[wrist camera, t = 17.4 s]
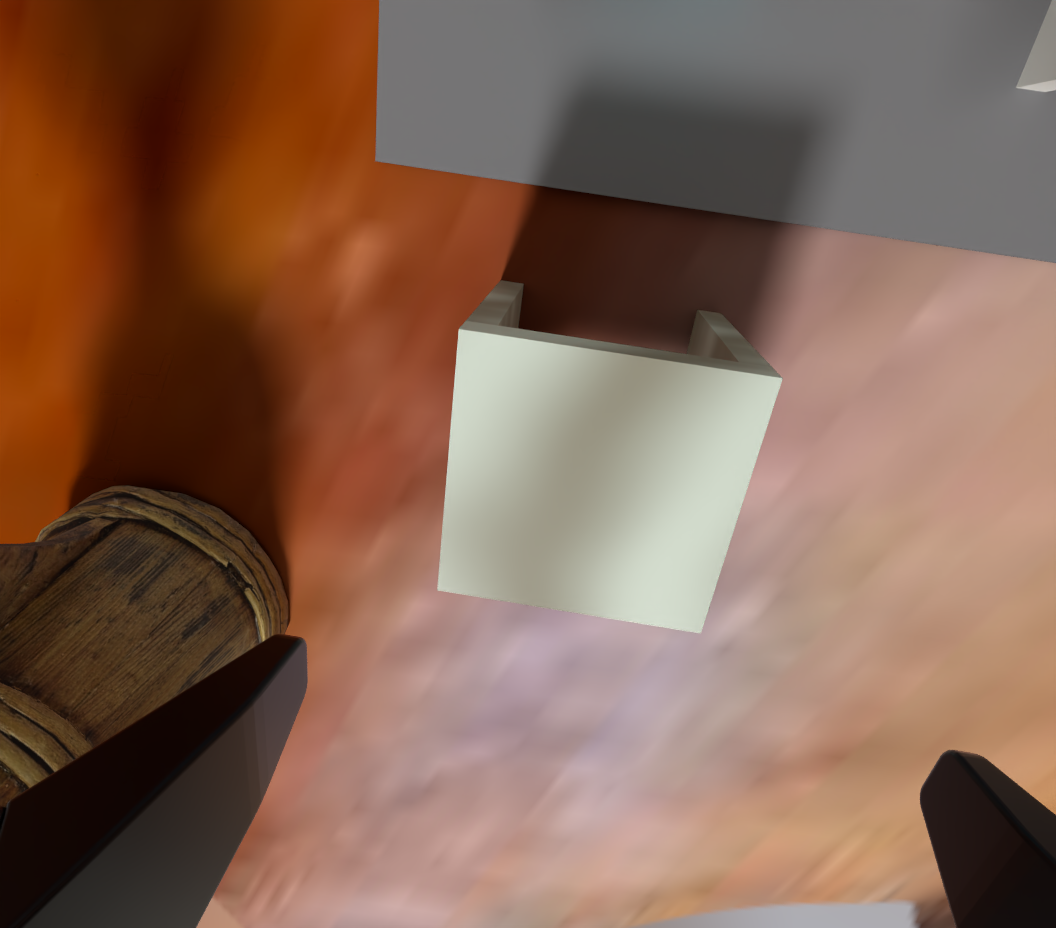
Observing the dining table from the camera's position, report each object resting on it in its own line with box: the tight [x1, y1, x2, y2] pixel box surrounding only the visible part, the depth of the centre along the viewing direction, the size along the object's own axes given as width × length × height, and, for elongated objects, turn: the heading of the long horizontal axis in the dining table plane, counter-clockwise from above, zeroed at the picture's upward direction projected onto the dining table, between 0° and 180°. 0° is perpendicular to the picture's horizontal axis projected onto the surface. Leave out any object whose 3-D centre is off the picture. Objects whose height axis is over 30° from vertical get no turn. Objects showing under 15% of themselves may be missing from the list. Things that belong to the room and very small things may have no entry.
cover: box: [437, 280, 783, 633], centre depth 17 cm, size 7×7×6 cm
